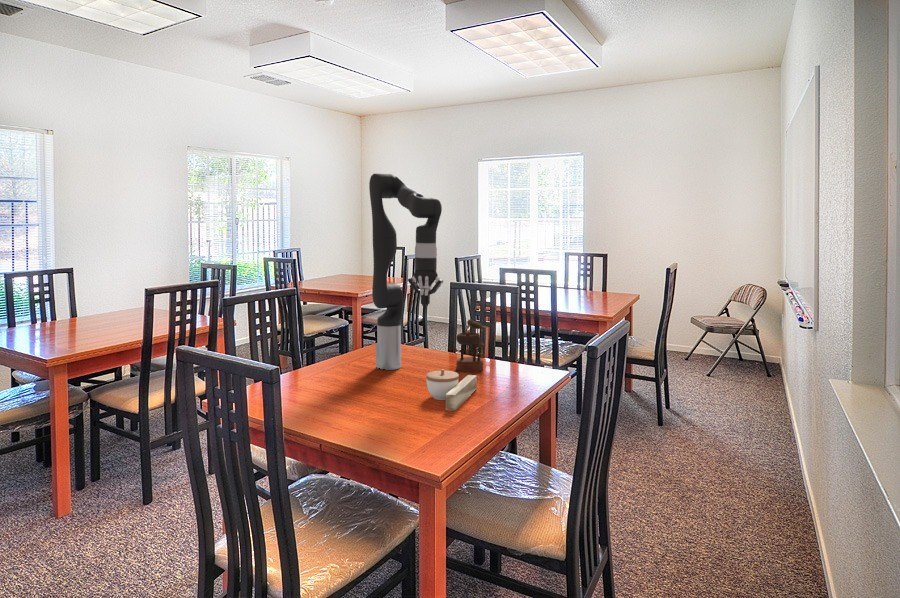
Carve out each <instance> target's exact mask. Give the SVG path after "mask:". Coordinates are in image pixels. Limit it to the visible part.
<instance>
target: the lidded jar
mask: <svg viewBox="0 0 900 598" xmlns="http://www.w3.org/2000/svg"><path fill="white" fill-rule="evenodd" d="M459 375H460V374H459V373H458V372H456V371H451V370H445V369H440V370H434V371H429V372H427V373H426V375H425V377H426V387H427V390H428V393H429V394H430V396H432V397H433V399H434V400H436V401H437V400H438V401H446V394H447V393H448V392H449V391H450V390H451V389H452V388H454V387H455V386H456V385H457V384H458V383H459V378H460V376H459Z"/></svg>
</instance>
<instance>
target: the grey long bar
mask: <svg viewBox="0 0 900 598" xmlns="http://www.w3.org/2000/svg"><path fill="white" fill-rule="evenodd" d="M477 378H478V376H477V375H476V374H475V375H474V374H473V375H472V374H468V375H466V376H465V377H464V378H463V379H462V380H460V382H459V381H458V384H457V385H456V386H455V387H454V388H452V389H451V390H450V391H449V392H448V393H447V394H446V400H445V411H450V412H455V411H457V410H458V409H459V408H460V407H461V405H463V404H464V403H465V402H466V401H467V400H468V399H469V398H470V397H471V396H472V395H473V394H474V393H475V392H476V391H477V390H478V389H477V381H478V379H477ZM475 390H476V391H475ZM474 391H475V392H474ZM473 392H474V393H473ZM472 393H473V394H472ZM471 394H472V395H471Z"/></svg>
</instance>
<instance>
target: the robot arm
mask: <svg viewBox="0 0 900 598" xmlns="http://www.w3.org/2000/svg"><path fill="white" fill-rule="evenodd" d="M368 183H369V185H368V186H369V187H368V188H369V189H368V190H369V198H370V200H369V201H370V207H371V216H372V217H371V221H372V223H371V224H372V251H373V252H372V254H373V255H372V256H373V271H372V272H373V274H372V287H371V289H372V290H371V292H372V293H371V295H372V303H373V304H374V306H375V307H376V308H377V309H386V310H385V312H383V314H381V315H379V316H378V317H377V319H376V320H377V321H376V322H377V323H376V327H377V328H376V329H377V330H376V331H377V333H376V335H377V342H376V344H375V368H376V367H377V368H376V369H379V368H380V370H383V369H385V370H384V371H394V370H398V369H402V326H401V325H402V323H401V322H402V318H403V313H404V309H403V308H404V293H403V289H402V287H401V286H400V285H399V283H388V272H389V269H390V267H391V264H392V262H393V260H394V258H395V257H396V254H397V248H398V243H397V242H398V241H397V232H396V229H395V227H394V225H393V223H392V222H391V221H390V219H389V217H388V216H387V213H386V211H385V208H384V204H383V203H384V202H383V199H397V201H398V203H399V205H400V206H402V207H403V208H405V209H407V210H408V212H409V213H410V214H411V216H413V217H414V218H417V219H426V222H425V223H424V224H421V225H420V224H419V225H418V226H416V229H415V247H414V272H413V275H412V276H411V277H409V278H408V279H407V282H408V283H409V285H410V286H411V288H412V289H413V290H414V292H415V294H419V295H420V304H421V306H422V307H428V306H429V305H430V302H431V295H433V294H435V293H436V292H437V291H438V290H439V289H440V287H441V286H442V284H443V283H444V280H443V279H441V278H440V277H439V276H438V272H437V263H438V262H437V261H438V260H437V259H438V258H437V256H438V252H437V251H438V249H437V230H438V226H439V223H440V219H441V216H442V210H443V208H442V203H441V201H440V199H439V198H437V197H430V196H429V197H425V196H424V195H423V194H422V193H421V192H419V191H417V190H415V189H413V188H411V187H409V186H408V185H407V184H406V183H405V182H404V181H403V180H402V179H401V178H399V176H397V175H395V174H392V173H372V174H371V176H370V178H369V182H368ZM434 283H435V284H434ZM433 284H434V285H433ZM432 285H433V286H432Z"/></svg>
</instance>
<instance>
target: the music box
mask: <svg viewBox="0 0 900 598" xmlns="http://www.w3.org/2000/svg"><path fill="white" fill-rule="evenodd" d="M466 323H467V327H466V328H467V330H466V331H465V332H459V333H458V334H457V336H456V338H455V339H456V342H457V343H458V344H459V345H460V349H457V347H448V350H454V351H455V353H458V352H459V353H460V358H458V359H457V360H456V364H455V365H456V371H458V372H462V373H478V372H482V371H483V370H484V361H483V360H482V359H485V353H483V352H484V351H483V349H481V351H480V352H479V349H476V348H477V347H478V348H485V347H486V344H485V343H480V341H481V336H480V333H479V330H480V329H481V330H483V328H484V329H487V328H488V326H485V325H483V324H481V323H479V322H478V321H473V319H468V320H467V322H466ZM469 327H471V328H473V330H474V329H476V332H473V331H472V332H471V330H470V329H468V328H469ZM464 346H466V349H465V350H464ZM470 346H472V348H473V349H472V350H471V349H470ZM464 353H465V354H466V355H470V354H471V356H466V357H465V356H464Z"/></svg>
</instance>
